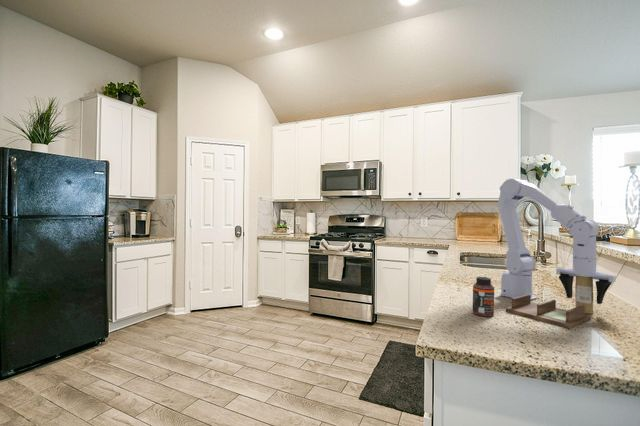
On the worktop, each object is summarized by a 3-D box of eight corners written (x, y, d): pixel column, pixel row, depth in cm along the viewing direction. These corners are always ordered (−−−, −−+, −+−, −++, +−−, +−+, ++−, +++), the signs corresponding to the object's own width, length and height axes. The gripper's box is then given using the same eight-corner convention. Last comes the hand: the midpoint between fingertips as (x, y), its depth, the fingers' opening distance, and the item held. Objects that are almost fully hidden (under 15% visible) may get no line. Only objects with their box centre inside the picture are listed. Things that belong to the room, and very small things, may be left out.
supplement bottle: (486, 318, 92) (486, 280, 92) (468, 312, 98) (468, 277, 98) (498, 315, 95) (498, 278, 95) (480, 310, 100) (480, 275, 100)
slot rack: (505, 311, 99) (505, 298, 99) (528, 304, 106) (528, 292, 106) (569, 328, 85) (569, 313, 85) (590, 319, 92) (590, 305, 92)
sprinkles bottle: (595, 312, 98) (595, 270, 98) (590, 315, 96) (590, 271, 96) (577, 308, 102) (577, 267, 102) (572, 311, 99) (572, 269, 99)
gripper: (619, 259, 95) (619, 304, 95) (563, 254, 107) (562, 293, 107) (610, 261, 91) (610, 307, 91) (553, 255, 103) (553, 296, 104)
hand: (584, 300), depth 99 cm, fingers open, 7 cm apart
